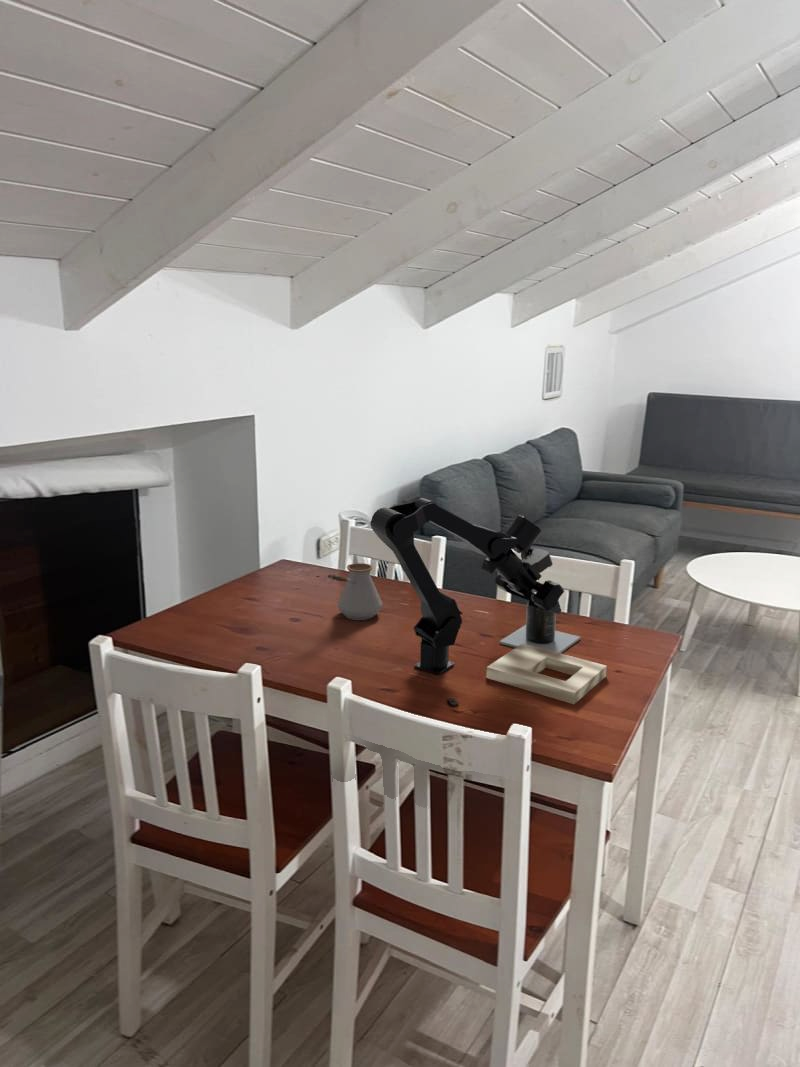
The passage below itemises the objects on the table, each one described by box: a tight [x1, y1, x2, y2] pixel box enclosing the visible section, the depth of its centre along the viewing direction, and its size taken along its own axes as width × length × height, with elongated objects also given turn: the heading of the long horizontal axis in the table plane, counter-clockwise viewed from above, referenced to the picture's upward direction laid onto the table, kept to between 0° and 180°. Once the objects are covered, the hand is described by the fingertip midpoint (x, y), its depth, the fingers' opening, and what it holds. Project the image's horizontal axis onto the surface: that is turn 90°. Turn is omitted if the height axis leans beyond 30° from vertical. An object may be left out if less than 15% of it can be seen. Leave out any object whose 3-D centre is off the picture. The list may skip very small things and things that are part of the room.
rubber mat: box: [499, 624, 581, 654], centre depth 190 cm, size 14×14×1 cm
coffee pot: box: [323, 562, 383, 621], centre depth 200 cm, size 21×12×15 cm, turn 154°
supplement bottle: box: [525, 591, 557, 644], centre depth 189 cm, size 7×7×12 cm
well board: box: [486, 643, 608, 705], centre depth 171 cm, size 16×20×2 cm
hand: (546, 606), depth 189 cm, fingers open, 9 cm apart
